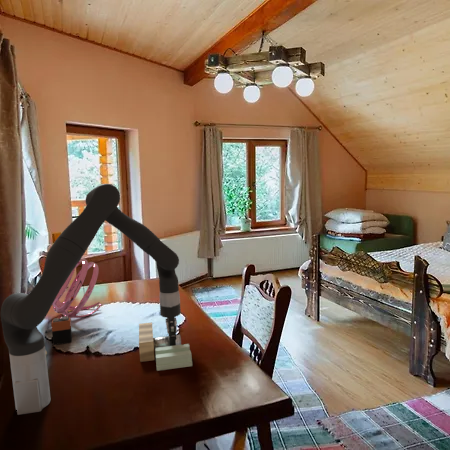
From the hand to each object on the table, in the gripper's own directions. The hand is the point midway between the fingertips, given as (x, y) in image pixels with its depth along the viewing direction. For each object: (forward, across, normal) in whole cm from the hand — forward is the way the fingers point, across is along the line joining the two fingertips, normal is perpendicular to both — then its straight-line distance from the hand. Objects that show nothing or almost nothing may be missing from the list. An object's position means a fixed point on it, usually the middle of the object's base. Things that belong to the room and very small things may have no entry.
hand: (172, 345), depth 149 cm
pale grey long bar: (-2, 0, -4) cm, 4 cm away
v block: (+1, +11, -1) cm, 11 cm away
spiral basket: (+1, -49, -42) cm, 65 cm away
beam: (+1, -1, -9) cm, 10 cm away
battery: (+1, -18, -42) cm, 46 cm away
